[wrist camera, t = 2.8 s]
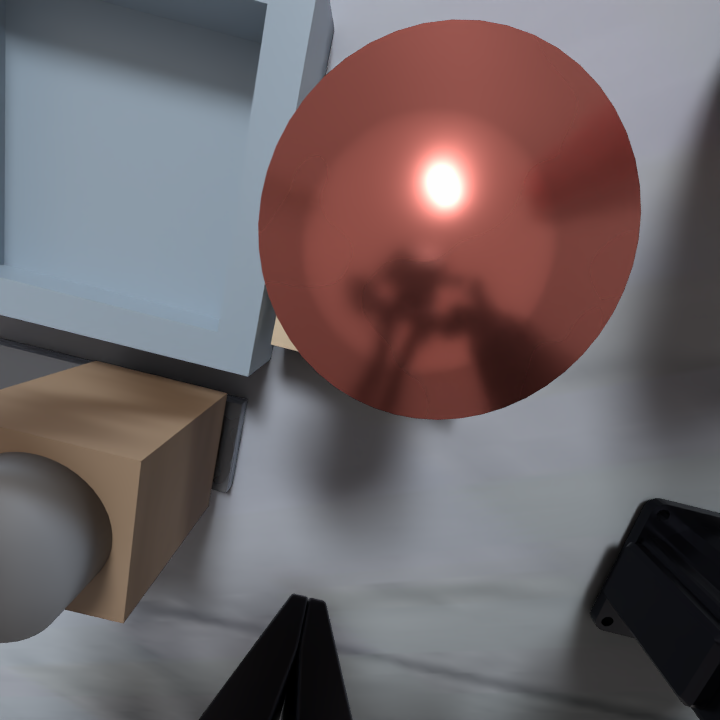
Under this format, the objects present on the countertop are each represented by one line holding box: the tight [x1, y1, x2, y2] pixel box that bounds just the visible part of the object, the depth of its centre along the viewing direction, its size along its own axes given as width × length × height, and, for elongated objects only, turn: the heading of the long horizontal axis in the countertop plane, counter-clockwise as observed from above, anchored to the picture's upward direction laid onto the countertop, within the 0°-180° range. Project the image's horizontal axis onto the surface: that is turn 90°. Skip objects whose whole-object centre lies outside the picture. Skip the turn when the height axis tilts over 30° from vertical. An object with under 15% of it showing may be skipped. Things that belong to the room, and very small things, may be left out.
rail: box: [0, 338, 247, 493], centre depth 14 cm, size 11×4×1 cm, turn 76°
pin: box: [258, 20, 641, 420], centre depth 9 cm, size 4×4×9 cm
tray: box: [0, 0, 334, 376], centre depth 11 cm, size 11×11×2 cm
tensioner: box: [0, 361, 227, 643], centre depth 10 cm, size 5×5×7 cm
